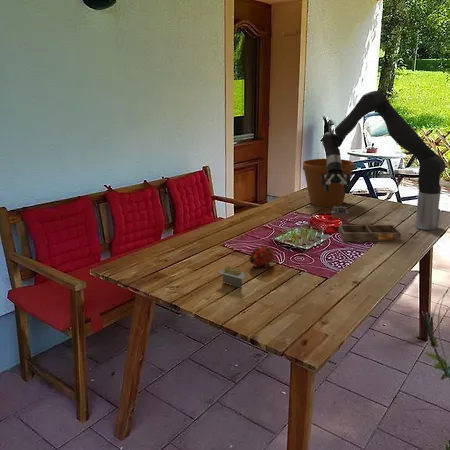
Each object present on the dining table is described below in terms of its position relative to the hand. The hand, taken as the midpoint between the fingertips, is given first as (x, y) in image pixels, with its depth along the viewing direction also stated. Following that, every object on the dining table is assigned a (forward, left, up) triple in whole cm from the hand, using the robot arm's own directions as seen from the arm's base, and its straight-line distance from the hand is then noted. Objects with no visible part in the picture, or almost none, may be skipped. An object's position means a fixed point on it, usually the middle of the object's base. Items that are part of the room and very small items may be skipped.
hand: (336, 192), depth 226 cm
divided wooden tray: (-10, +28, -14) cm, 33 cm away
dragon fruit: (+37, +64, -14) cm, 75 cm away
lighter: (0, +13, -14) cm, 19 cm away
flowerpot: (0, -34, -14) cm, 37 cm away
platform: (+47, +81, -15) cm, 95 cm away
